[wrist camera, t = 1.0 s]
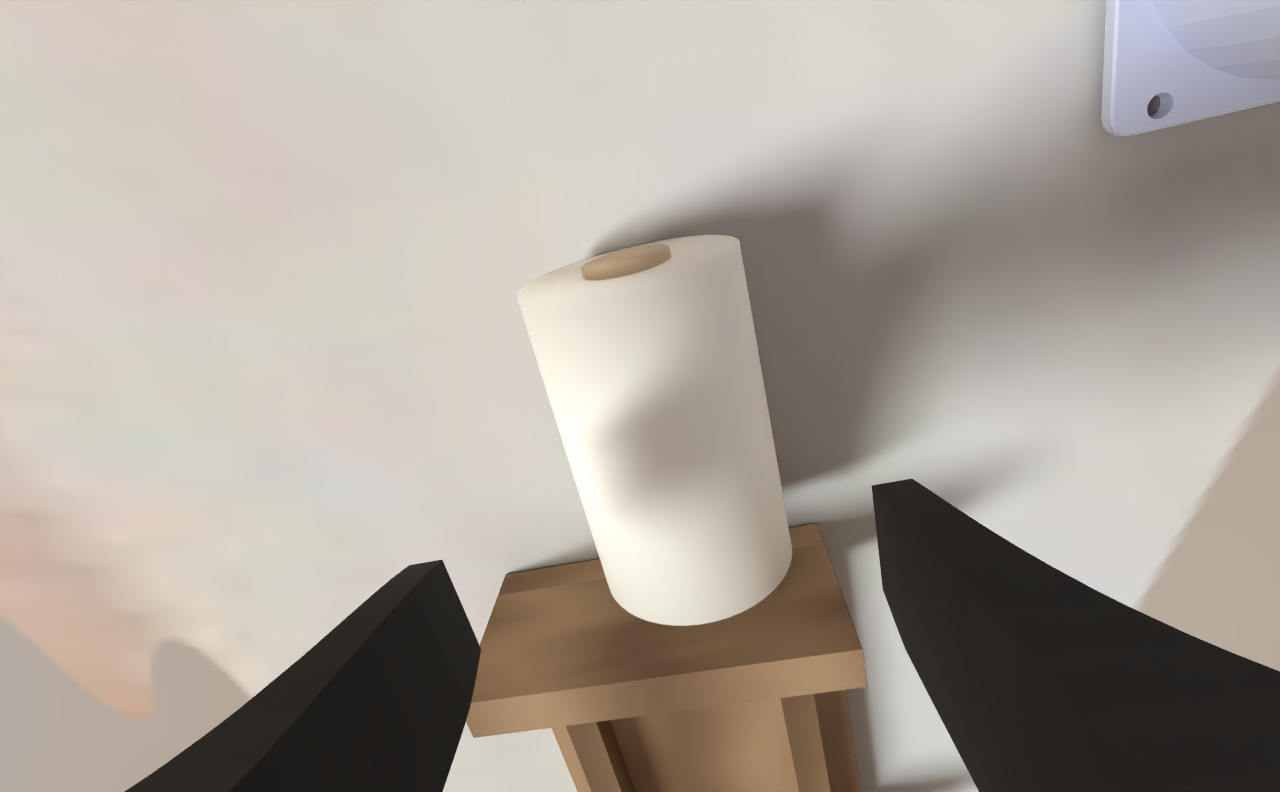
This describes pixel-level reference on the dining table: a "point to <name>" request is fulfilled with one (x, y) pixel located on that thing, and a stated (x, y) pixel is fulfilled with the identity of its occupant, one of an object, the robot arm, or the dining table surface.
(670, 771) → the holder
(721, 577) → the roll
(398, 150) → the dining table surface
